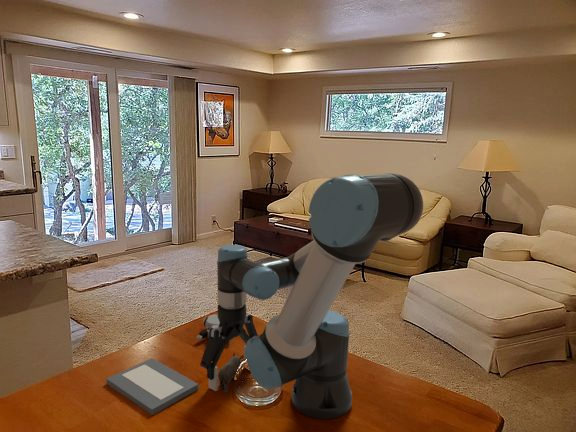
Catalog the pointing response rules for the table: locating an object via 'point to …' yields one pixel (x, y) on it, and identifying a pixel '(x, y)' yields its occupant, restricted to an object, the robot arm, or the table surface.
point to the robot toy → (209, 325)
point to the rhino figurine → (229, 372)
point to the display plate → (152, 385)
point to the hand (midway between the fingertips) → (231, 378)
